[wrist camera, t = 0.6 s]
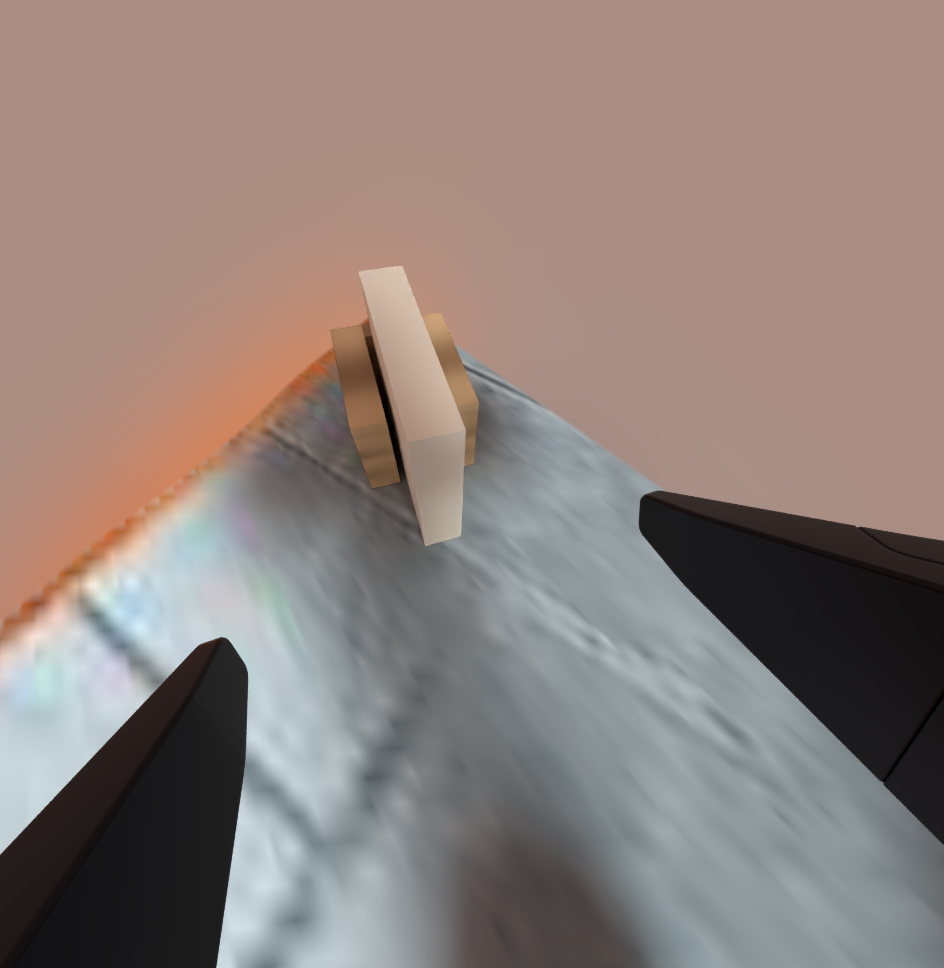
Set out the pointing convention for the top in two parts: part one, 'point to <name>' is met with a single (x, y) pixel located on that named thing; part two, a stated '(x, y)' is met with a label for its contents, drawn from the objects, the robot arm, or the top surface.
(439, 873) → the top surface
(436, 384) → the cover plate
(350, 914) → the top surface
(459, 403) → the oak box
